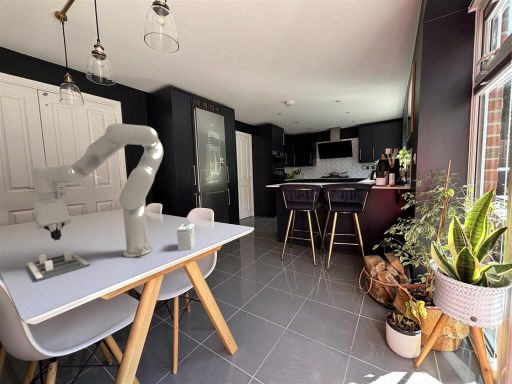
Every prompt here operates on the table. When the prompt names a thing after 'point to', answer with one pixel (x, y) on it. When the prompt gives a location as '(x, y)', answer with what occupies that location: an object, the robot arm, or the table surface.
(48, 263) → the tab
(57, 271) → the switch board
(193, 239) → the light bulb box
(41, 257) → the tab
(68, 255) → the tab
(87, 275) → the table surface
